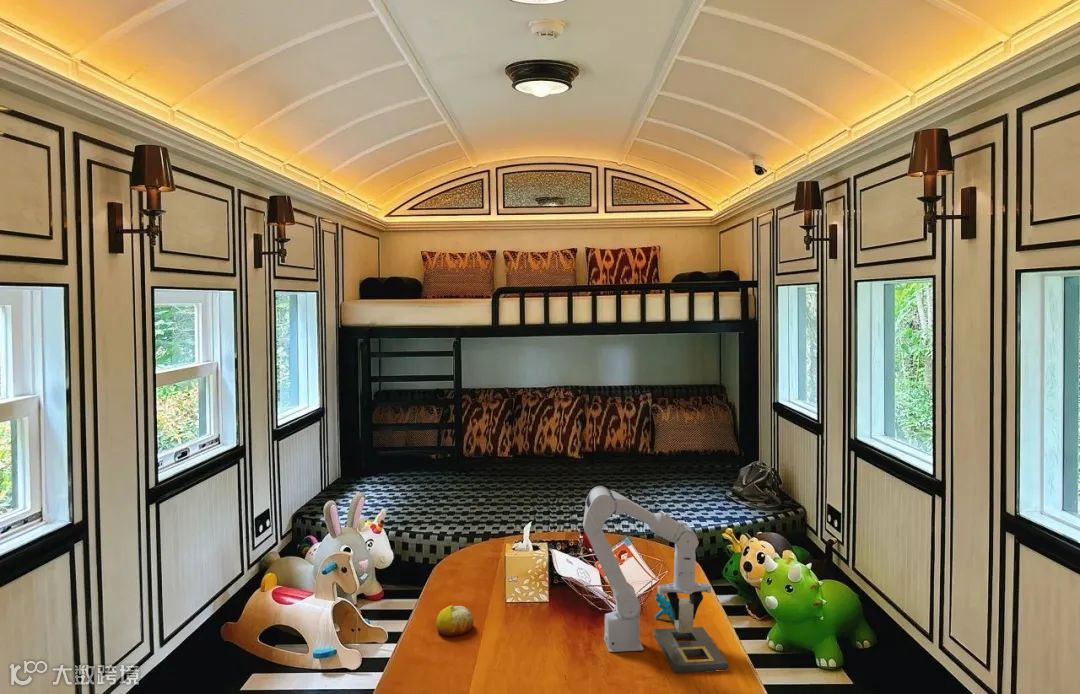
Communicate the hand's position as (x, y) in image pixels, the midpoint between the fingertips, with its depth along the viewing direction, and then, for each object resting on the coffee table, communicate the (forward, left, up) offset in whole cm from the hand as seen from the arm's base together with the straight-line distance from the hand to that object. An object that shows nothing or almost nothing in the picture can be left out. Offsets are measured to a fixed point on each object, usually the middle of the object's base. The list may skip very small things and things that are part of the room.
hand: (683, 618), depth 193 cm
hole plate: (0, -5, -7) cm, 9 cm away
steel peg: (0, 0, -3) cm, 3 cm away
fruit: (-63, +15, -8) cm, 65 cm away
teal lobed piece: (0, +15, -8) cm, 17 cm away
